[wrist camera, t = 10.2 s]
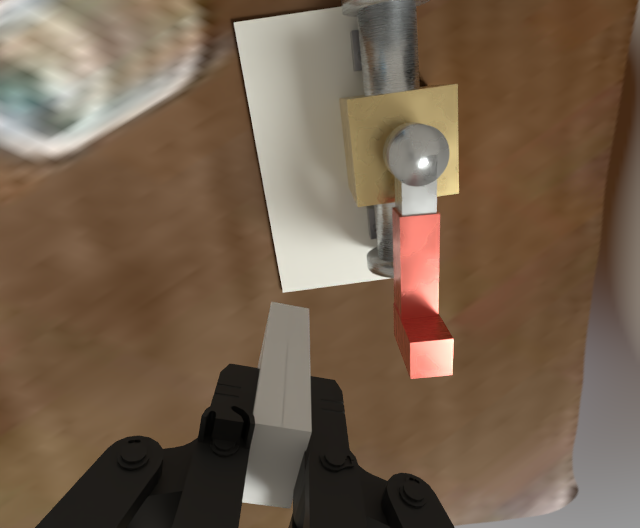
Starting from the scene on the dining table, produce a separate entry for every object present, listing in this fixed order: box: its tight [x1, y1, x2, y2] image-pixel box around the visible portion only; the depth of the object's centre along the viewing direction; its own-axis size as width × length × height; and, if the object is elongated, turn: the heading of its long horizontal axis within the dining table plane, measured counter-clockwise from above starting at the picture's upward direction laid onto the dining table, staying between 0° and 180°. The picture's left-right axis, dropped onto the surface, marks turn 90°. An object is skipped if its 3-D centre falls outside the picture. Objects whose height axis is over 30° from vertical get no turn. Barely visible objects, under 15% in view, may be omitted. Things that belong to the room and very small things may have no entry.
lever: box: [383, 122, 454, 379], centre depth 30 cm, size 17×4×6 cm, turn 5°
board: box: [234, 7, 388, 293], centre depth 40 cm, size 25×15×1 cm, turn 8°
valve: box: [339, 0, 459, 278], centre depth 35 cm, size 22×8×10 cm, turn 8°
